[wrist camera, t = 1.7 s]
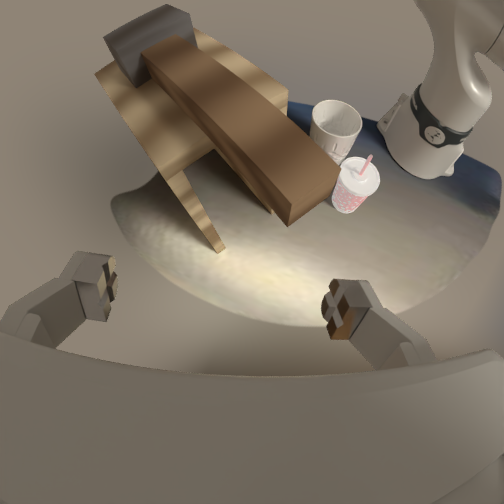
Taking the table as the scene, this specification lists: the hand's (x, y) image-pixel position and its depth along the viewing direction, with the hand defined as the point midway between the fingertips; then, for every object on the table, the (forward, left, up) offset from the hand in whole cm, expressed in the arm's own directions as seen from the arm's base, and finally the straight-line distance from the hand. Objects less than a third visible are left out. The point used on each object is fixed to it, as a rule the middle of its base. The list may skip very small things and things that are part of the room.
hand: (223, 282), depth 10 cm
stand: (-13, -16, -32) cm, 38 cm away
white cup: (-30, -4, -33) cm, 44 cm away
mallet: (-11, -11, -6) cm, 16 cm away
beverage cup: (-23, +3, -33) cm, 40 cm away
